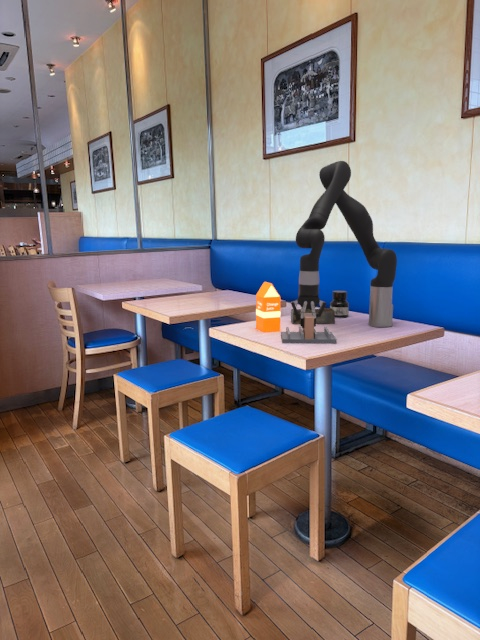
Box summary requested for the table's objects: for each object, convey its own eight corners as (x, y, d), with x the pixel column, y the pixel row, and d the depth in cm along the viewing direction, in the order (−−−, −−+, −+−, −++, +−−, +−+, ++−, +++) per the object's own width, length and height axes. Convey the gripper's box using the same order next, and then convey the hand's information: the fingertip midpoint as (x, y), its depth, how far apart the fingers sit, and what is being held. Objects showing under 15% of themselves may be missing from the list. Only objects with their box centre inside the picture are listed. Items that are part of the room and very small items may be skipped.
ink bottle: (327, 317, 229) (328, 292, 227) (329, 314, 238) (330, 290, 235) (348, 318, 227) (349, 293, 225) (349, 315, 235) (350, 290, 233)
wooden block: (310, 333, 189) (311, 313, 187) (313, 338, 179) (314, 317, 178) (302, 333, 189) (303, 313, 188) (304, 338, 179) (305, 317, 178)
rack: (331, 335, 191) (331, 327, 190) (336, 343, 178) (336, 334, 178) (280, 335, 192) (281, 326, 191) (282, 343, 179) (282, 334, 178)
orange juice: (272, 327, 208) (272, 281, 204) (280, 331, 199) (281, 283, 196) (255, 328, 205) (255, 281, 201) (263, 332, 197) (263, 284, 193)
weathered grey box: (290, 321, 221) (290, 307, 220) (331, 321, 221) (332, 307, 220) (292, 325, 213) (292, 310, 212) (335, 324, 214) (336, 310, 212)
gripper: (326, 281, 184) (324, 325, 188) (289, 281, 185) (288, 325, 188) (329, 284, 177) (327, 329, 180) (290, 284, 177) (289, 329, 181)
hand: (307, 327), depth 184 cm, fingers closed on wooden block, 3 cm apart
